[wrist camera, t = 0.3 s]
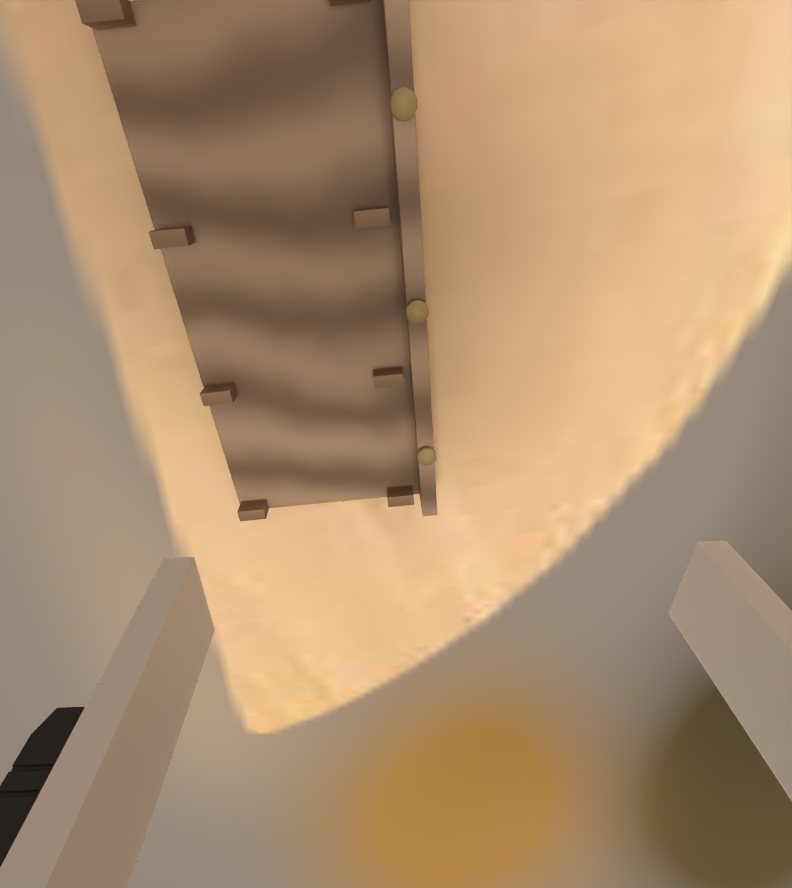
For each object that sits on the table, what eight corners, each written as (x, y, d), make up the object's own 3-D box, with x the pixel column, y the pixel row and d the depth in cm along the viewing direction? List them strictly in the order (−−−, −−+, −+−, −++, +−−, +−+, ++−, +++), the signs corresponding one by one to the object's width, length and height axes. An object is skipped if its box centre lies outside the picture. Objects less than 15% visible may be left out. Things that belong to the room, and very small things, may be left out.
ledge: (96, 12, 27) (43, -17, 23) (402, -19, 27) (408, -55, 22) (245, 502, 44) (231, 539, 40) (432, 484, 44) (439, 519, 39)
